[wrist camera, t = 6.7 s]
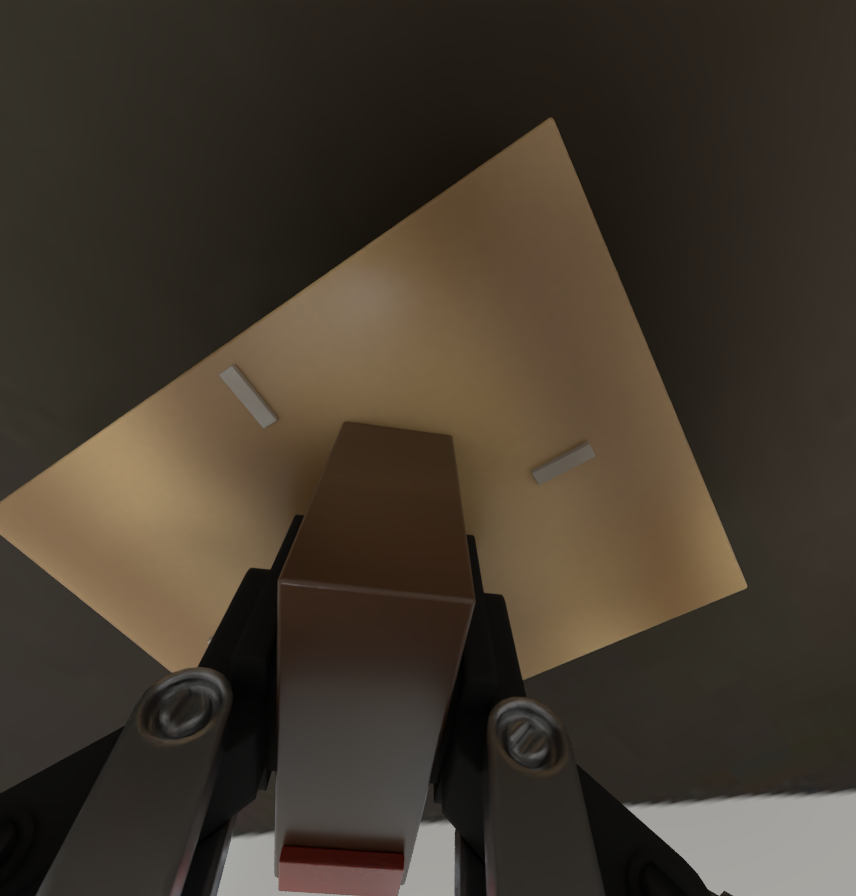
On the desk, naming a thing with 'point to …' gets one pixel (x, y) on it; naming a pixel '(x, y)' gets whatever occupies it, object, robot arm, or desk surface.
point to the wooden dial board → (412, 408)
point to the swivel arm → (367, 658)
